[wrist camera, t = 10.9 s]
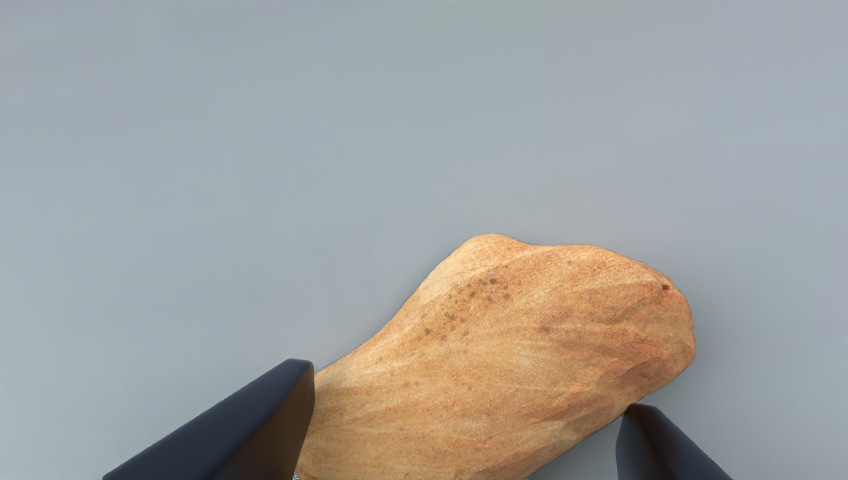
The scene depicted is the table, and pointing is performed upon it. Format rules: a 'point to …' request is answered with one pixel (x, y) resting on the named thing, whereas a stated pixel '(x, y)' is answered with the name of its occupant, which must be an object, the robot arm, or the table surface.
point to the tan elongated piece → (498, 365)
